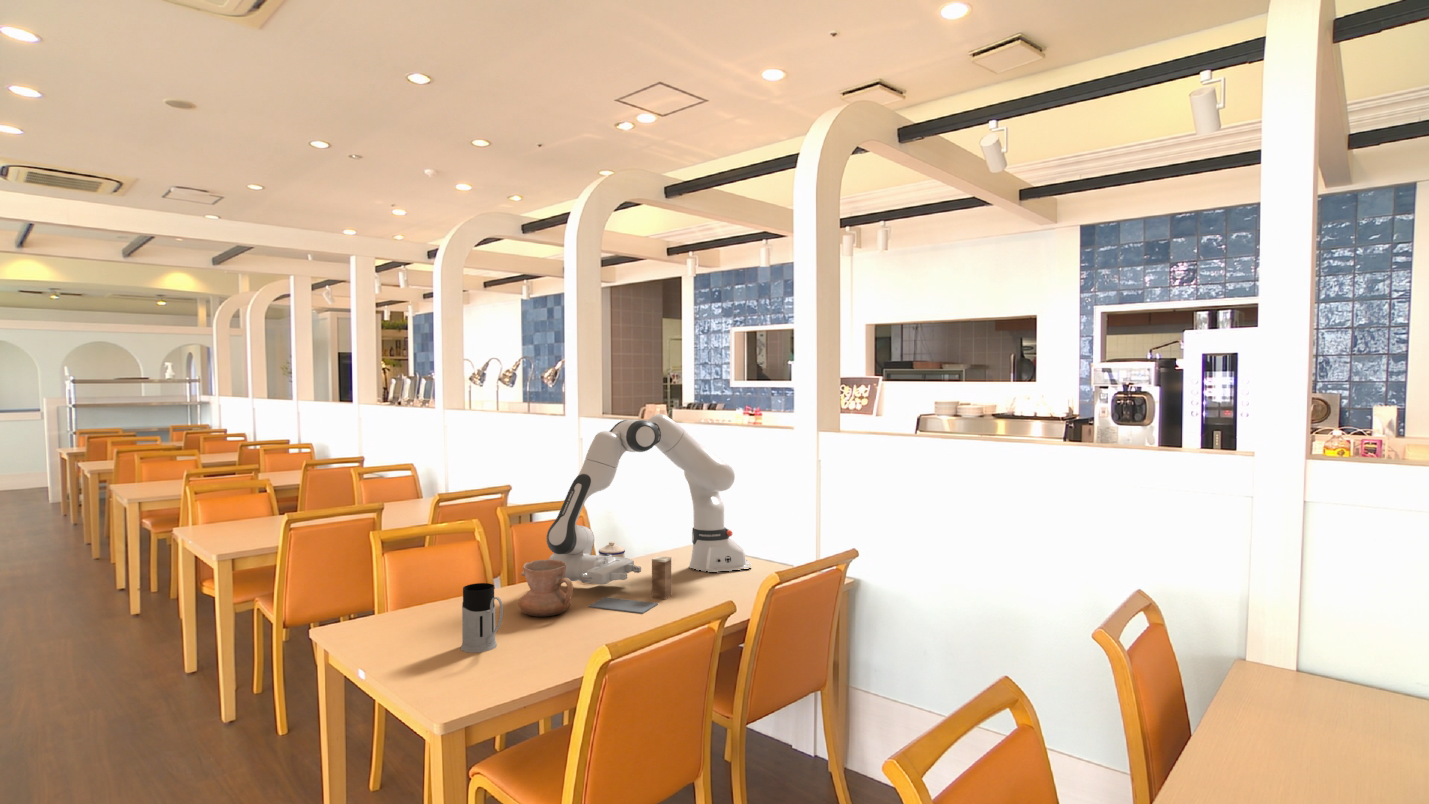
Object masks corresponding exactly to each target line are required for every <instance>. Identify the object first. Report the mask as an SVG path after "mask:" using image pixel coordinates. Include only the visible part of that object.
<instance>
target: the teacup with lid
mask: <svg viewBox="0 0 1429 804" xmlns="http://www.w3.org/2000/svg"><path fill="white" fill-rule="evenodd" d="M625 549H626V548H624V547H622V546H619V545H617V544H616V543H615V541H609V542H608V544H606V545H605V546H603V547H600V548H599V549H598V555H600V556H601V555H607V554H609V555H612V557H622V558H626V557H625V553H626V550H625Z"/></svg>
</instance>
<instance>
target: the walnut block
mask: <svg viewBox="0 0 1429 804" xmlns="http://www.w3.org/2000/svg"><path fill="white" fill-rule="evenodd" d="M671 596H672V557H671V556H661V555H657V556H655V557H653V558H652V559H651V598H652V599H658V600H659V599H660V600H667V599H669V598H670V597H671Z"/></svg>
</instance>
